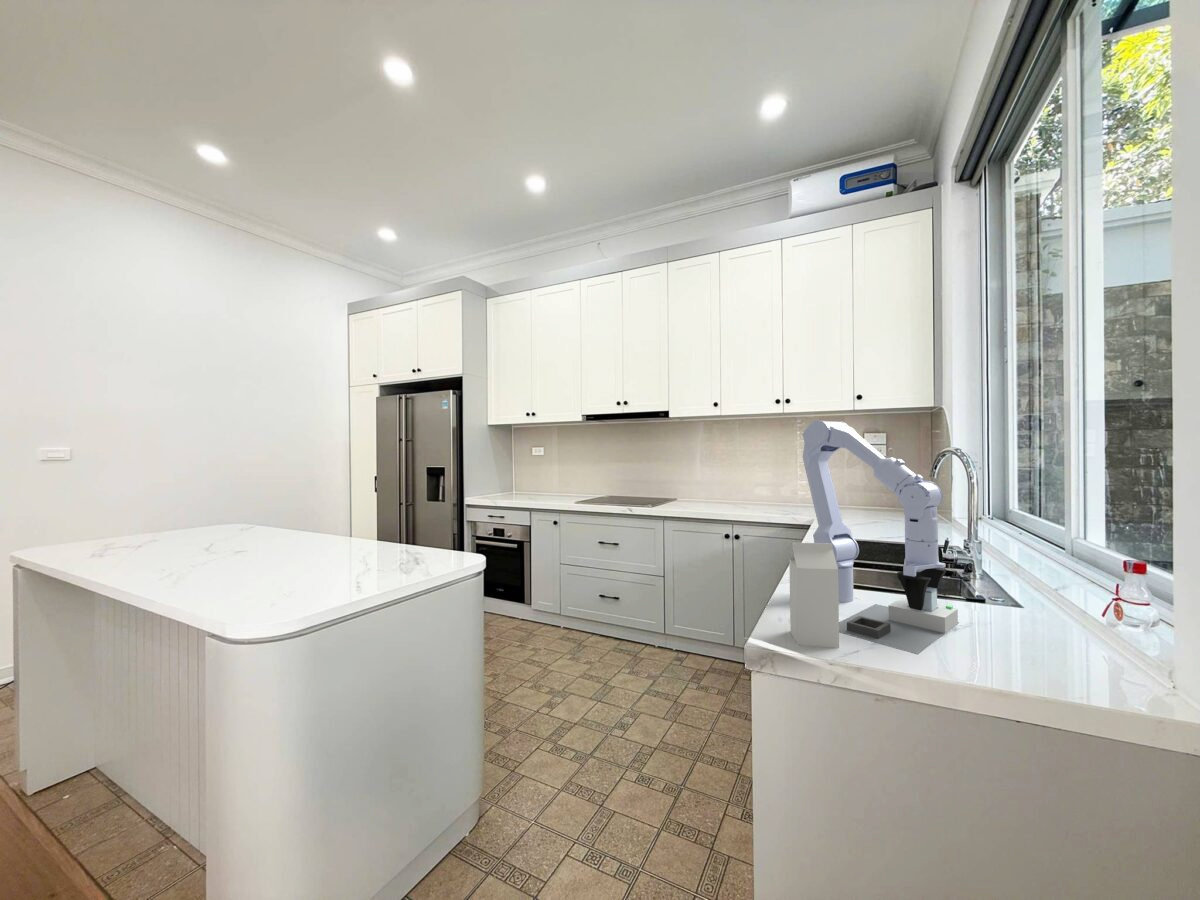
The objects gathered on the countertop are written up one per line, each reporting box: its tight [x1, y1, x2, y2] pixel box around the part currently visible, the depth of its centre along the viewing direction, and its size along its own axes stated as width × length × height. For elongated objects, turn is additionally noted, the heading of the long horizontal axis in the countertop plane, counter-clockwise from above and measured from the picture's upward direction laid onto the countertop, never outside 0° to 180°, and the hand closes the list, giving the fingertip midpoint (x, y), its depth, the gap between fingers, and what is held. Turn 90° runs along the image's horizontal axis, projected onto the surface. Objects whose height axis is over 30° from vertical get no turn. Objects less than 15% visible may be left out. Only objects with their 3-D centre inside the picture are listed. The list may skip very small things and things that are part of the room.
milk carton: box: [788, 542, 840, 649], centre depth 90 cm, size 7×7×19 cm
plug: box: [922, 587, 938, 612], centre depth 98 cm, size 3×3×7 cm
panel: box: [839, 597, 960, 655], centre depth 96 cm, size 16×24×4 cm, turn 129°
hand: (922, 605), depth 98 cm, fingers open, 7 cm apart
